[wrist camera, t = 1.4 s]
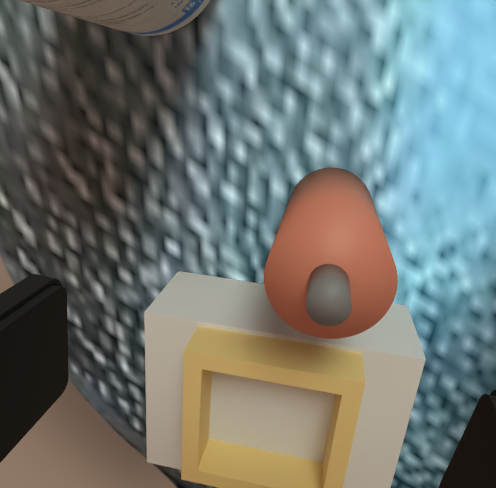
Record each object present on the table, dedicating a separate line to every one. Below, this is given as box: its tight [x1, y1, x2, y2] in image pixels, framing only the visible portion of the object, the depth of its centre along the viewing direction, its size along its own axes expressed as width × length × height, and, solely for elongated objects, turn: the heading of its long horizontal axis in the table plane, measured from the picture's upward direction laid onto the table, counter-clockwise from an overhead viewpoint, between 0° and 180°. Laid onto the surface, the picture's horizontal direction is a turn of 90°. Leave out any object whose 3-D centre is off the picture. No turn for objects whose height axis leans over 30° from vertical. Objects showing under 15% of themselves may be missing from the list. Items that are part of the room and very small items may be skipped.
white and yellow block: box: [144, 271, 426, 488], centre depth 28 cm, size 16×12×8 cm
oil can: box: [264, 168, 397, 339], centre depth 21 cm, size 5×5×13 cm
